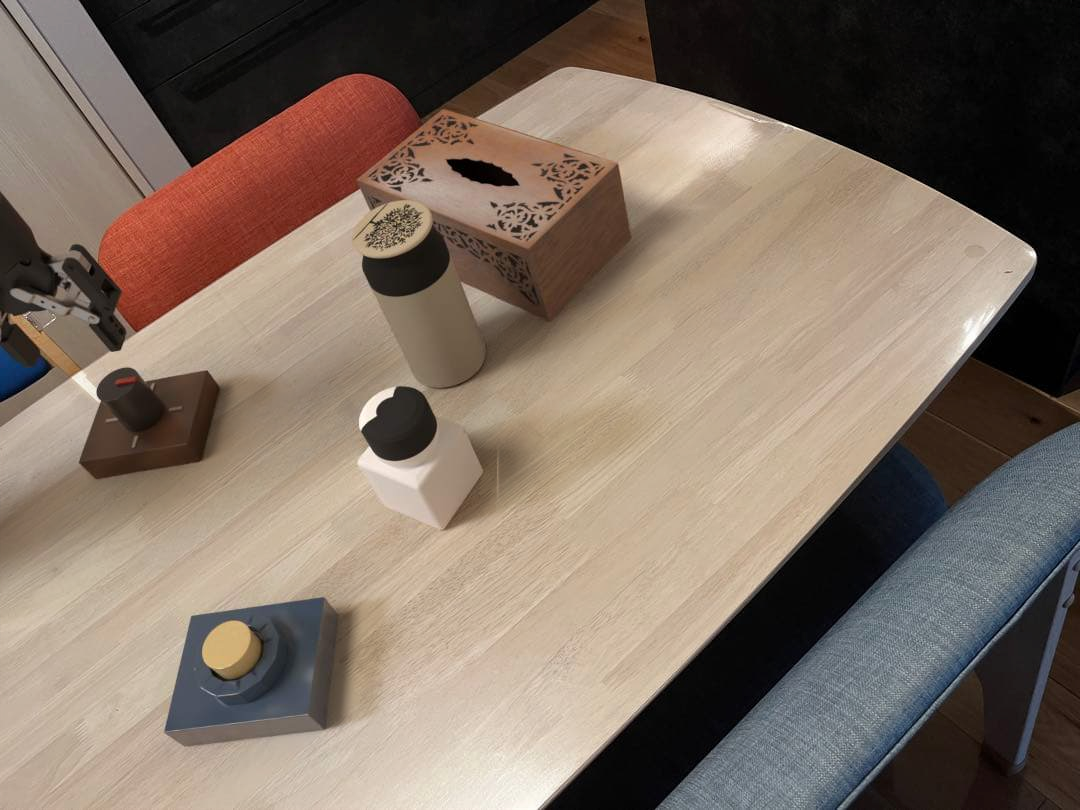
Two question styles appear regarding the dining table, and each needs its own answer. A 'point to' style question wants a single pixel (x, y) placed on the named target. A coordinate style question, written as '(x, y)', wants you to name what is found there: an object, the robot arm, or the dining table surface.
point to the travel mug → (420, 292)
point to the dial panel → (155, 430)
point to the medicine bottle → (416, 457)
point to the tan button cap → (232, 649)
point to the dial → (130, 399)
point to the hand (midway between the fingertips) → (76, 352)
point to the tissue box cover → (508, 207)
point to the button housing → (257, 676)
